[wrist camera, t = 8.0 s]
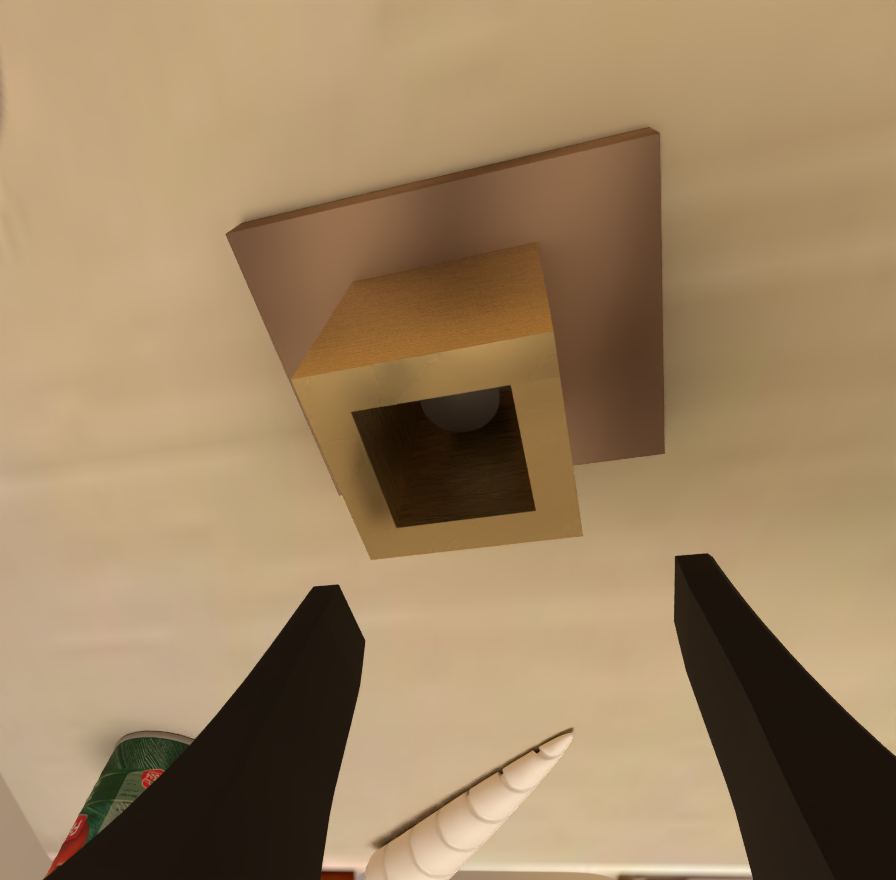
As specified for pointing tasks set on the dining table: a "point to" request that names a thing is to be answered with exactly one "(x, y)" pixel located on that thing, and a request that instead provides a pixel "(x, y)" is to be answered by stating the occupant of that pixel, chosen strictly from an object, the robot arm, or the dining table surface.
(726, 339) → the dining table surface
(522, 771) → the unicorn horn
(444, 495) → the brass collar
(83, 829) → the canned tomato
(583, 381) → the post stand
